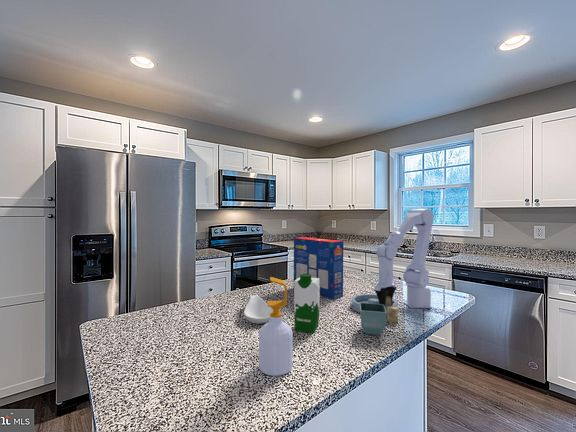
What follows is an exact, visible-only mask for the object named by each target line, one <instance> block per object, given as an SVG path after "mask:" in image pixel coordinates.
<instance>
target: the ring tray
mask: <svg viewBox="0 0 576 432" xmlns="http://www.w3.org/2000/svg"><path fill="white" fill-rule="evenodd" d="M359 303H370V304H379V300H378V297H377V294H376V293H374V294H371V293H369V294H367V293H366V294H365V293H362V294H357V295H354V296H353V297H351V303H350V308H351V309H352V310H353V311H355V312H357V313H359V314H360V305H359ZM398 304H399V303H398V301H397V300H396V299H395V298H392V302H391V305H390V306H393V307H397V308H398V309H399V307H398ZM387 307H389V306H385V309H386V311H387ZM386 317H387V315H386Z"/></svg>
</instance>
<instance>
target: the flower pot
mask: <svg viewBox="0 0 576 432" xmlns="http://www.w3.org/2000/svg"><path fill="white" fill-rule="evenodd" d="M359 305H360V313H359V316H360V325H361V328H362V330H363V332H364V334H365V335H375V336H380V335H381V334H382V333H383V331H384V329H385V327H386V321H387V316H386V315H387V311H386V309H385V306H384V305H383V304H370V303H359Z"/></svg>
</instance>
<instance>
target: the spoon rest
mask: <svg viewBox="0 0 576 432" xmlns="http://www.w3.org/2000/svg"><path fill="white" fill-rule="evenodd" d="M271 312H273V309H272V308H271V307H268V302H266V301H265V300H263V298H262V297H260V296H259V294H253V295H251V294H249V295H248V298H247V301H246V306H245V308H244V310H243V315H244V317H245V319H246V320H247V321H248V322H250V323H252V324H256V325H259V324H260V325H261V324H266V323H268V322H270V313H271Z"/></svg>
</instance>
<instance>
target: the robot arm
mask: <svg viewBox="0 0 576 432" xmlns="http://www.w3.org/2000/svg"><path fill="white" fill-rule="evenodd" d="M434 217H435V215H434V213H433V211H432V210H431V209H430V208H415V209H414V208H410V209H409V210H408V211H407V213H406V214H405V218H404V220H403V221H402V223H401V225H400V226H399V228H398V229H397V231H393V232H391V233H390V234H389V237H388V238H387V239H386V240H385V241H384V243H383V244H382V243H381V244H380V245H378V247H377V249H376V250H375V253H376V256H377V261H378V282H377V284H375V285H374V293H375V295H377V297H378V300H379V304H383V305H384V306H385V304H386V297H387V296H389V297H391V302H392V298H393V297H394V296H395V295H394V294H395V293H396V290H397V286H396V282H397V280H394V279H393V278H394V258H395V257H397V256H396V255H397V254H398V253H397V252H398V248H399V247H400V246H401V245H402V243H403V242H404V241H405V235H406V234H407V233H408V232H409V231H410V230H411V229H412V228H413V227H415V228H416V229H417V235H416V239H415V245H414V250H413V255H412V260H411V263H410V264H409V265H407V266H406V268H405V271H404V272H403V278H402V279H403V281H404V283H405V285H406V301H405V300H404V301H403V303H404V304H405V305H406V306H407V307H409V308H411V309H431V308H432V305H431V304H432V303H431V301H432V297H431V296H432V294H431V293H432V292H431V289H430V287H429V286H428V285H429V282H430V277H429V275H430V274H429V273H430V271H429V270H428V269H427V268H426V265H425V264H426V259H427V255H428V249H429V244H430V240H431V239H430V238H431V233H432V229H433V224H434V219H435V218H434ZM393 299H394V298H393Z"/></svg>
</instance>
